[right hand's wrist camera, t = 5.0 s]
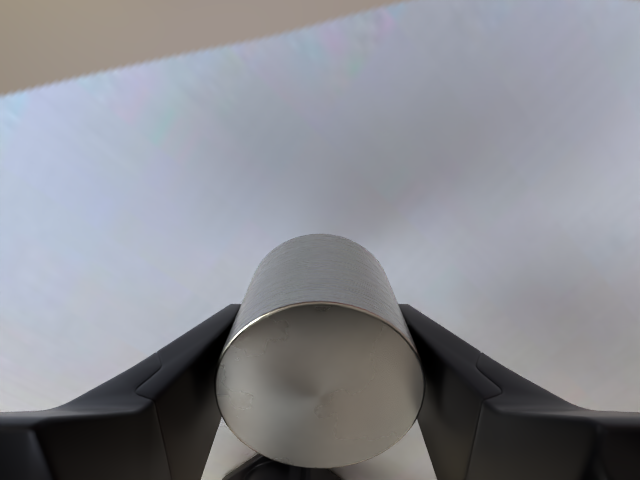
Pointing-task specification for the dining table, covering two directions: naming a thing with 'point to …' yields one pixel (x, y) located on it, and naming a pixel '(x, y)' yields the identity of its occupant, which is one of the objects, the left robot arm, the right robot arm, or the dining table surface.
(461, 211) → the dining table surface
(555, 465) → the right robot arm
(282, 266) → the canister
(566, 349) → the dining table surface
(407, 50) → the dining table surface
